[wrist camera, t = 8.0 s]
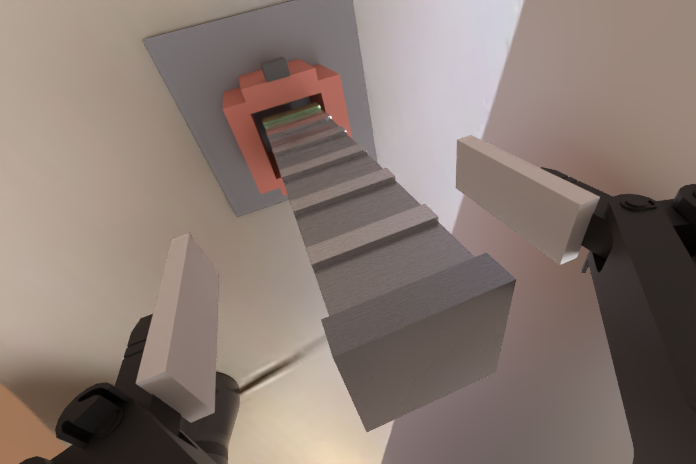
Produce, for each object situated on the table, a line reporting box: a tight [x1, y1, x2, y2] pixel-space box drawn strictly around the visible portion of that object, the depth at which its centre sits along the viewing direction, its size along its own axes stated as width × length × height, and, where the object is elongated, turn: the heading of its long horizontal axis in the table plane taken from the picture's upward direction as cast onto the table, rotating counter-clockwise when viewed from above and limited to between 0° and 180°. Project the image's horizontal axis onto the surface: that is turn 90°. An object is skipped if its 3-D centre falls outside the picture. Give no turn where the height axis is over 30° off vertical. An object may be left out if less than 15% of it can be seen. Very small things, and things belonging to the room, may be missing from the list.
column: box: [262, 102, 516, 432], centre depth 15 cm, size 4×4×19 cm
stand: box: [142, 0, 377, 217], centre depth 25 cm, size 16×16×7 cm
